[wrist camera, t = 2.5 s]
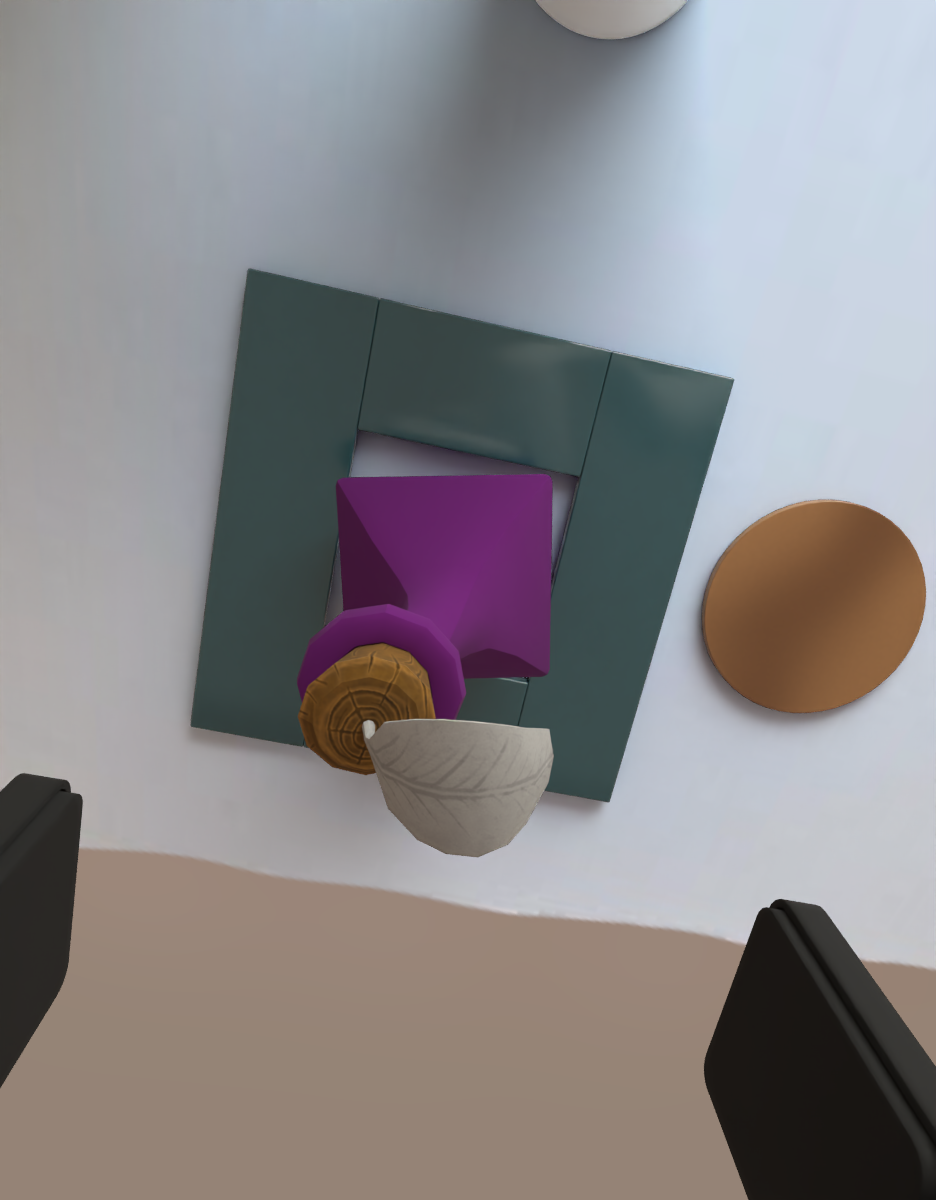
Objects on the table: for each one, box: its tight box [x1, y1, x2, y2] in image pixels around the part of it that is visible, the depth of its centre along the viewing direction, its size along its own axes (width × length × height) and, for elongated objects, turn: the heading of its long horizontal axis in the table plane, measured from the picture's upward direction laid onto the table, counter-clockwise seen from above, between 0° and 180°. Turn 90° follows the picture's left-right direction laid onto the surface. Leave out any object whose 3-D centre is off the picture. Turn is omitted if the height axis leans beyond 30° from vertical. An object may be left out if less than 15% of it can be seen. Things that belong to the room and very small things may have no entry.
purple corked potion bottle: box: [297, 474, 554, 857], centre depth 23 cm, size 8×8×18 cm
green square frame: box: [190, 269, 734, 802], centre depth 31 cm, size 18×18×1 cm
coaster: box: [702, 500, 926, 713], centre depth 32 cm, size 9×9×1 cm
